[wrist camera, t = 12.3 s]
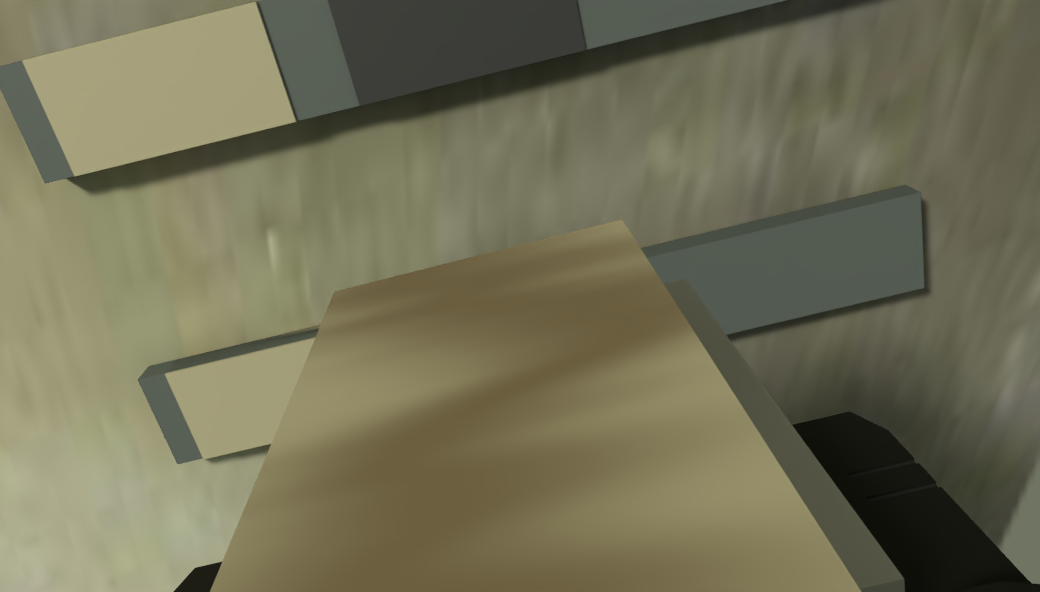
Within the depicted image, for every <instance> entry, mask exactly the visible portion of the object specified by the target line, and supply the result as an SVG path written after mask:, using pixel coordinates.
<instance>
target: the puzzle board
mask: <svg viewBox="0 0 1040 592" xmlns="http://www.w3.org/2000/svg"><path fill="white" fill-rule="evenodd" d="M782 1H786V0H261V1H257V2H253V3H249V4H245V5H241V6H237V7H233V8H229V9H225V10H221V11H217V12H213V13H209V14H205V15H201V16H197V17H193V18H189V19H185V20H181V21H177V22H173V23H169V24H165V25H161V26H158V27H154V28H150V29H146V30H142V31H138V32H134V33H130V34H126V35H122V36H118V37H114V38H110V39H106V40H102V41H98V42H94V43H90V44H86V45H82V46H78V47H74V48H70V49H66V50H62V51H58V52H54V53H50V54H46V55H42V56H38V57H34V58H30V59H26V60H22V61H19V62H15V63H11V64H7V65H3V66H0V89H1V91H2V93H3V95H4V97H5V100H6V102H7V104H8V106H9V108H10V110H11V112H12V114H13V116H14V119H15V121H16V123H17V125H18V127H19V129H20V131H21V133H22V136H23V138H24V140H25V142H26V144H27V146H28V148H29V150H30V153H31V155H32V157H33V159H34V161H35V163H36V165H37V167H38V169H39V172H40V174H41V176H42V178H43V180H44V182H45V183H49V182H53V181H57V180H61V179H65V178H69V177H73V176H79V175H83V174H87V173H91V172H95V171H99V170H103V169H107V168H111V167H115V166H119V165H124V164H128V163H132V162H136V161H140V160H144V159H148V158H152V157H156V156H160V155H164V154H168V153H172V152H176V151H180V150H184V149H188V148H192V147H196V146H200V145H205V144H209V143H213V142H217V141H221V140H225V139H229V138H233V137H237V136H241V135H245V134H249V133H253V132H257V131H261V130H265V129H269V128H273V127H277V126H281V125H285V124H290V123H294V122H296V121H300V120H304V119H308V118H312V117H316V116H320V115H324V114H328V113H332V112H336V111H340V110H345V109H349V108H353V107H357V106H362V105H366V104H371V103H375V102H379V101H383V100H387V99H391V98H395V97H399V96H403V95H407V94H411V93H415V92H419V91H423V90H427V89H431V88H435V87H439V86H443V85H447V84H451V83H456V82H460V81H464V80H468V79H472V78H476V77H480V76H484V75H488V74H492V73H496V72H500V71H504V70H508V69H512V68H516V67H520V66H524V65H528V64H532V63H536V62H541V61H545V60H549V59H553V58H557V57H561V56H565V55H569V54H573V53H577V52H581V51H585V50H587V49H591V48H596V47H600V46H604V45H608V44H612V43H616V42H620V41H624V40H628V39H632V38H636V37H640V36H644V35H648V34H652V33H656V32H660V31H664V30H668V29H672V28H676V27H681V26H685V25H689V24H693V23H697V22H701V21H705V20H709V19H713V18H717V17H721V16H725V15H729V14H733V13H737V12H741V11H745V10H749V9H753V8H757V7H761V6H766V5H770V4H774V3H778V2H782ZM641 250H642V251H643V253H644V255H645V256H646V258H647V259H648V261H649V262H650V264H651V265H652V267H653V269H654V270H655V272H656V273H657V275H658V276H659V278H660V279H661V281H662V283H663V284H667V283H671V282H675V281H679V280H683V279H686V280H687V282H688V283H689V285H690V286H691V287H692V289H693V290H694V291H695V293H696V294H697V296H698V297H699V298H700V300H701V301H702V302H703V304H704V305H705V307H706V308H707V309H708V311H709V312H710V313H711V315H712V316H713V317H714V319H715V320H716V322H717V323H718V324H719V326H720V327H721V328H722V330H723V331H724V333H725V334H726V335H727V334H731V333H736V332H740V331H744V330H748V329H753V328H757V327H761V326H765V325H770V324H774V323H778V322H782V321H787V320H791V319H795V318H799V317H803V316H808V315H812V314H816V313H820V312H825V311H829V310H833V309H837V308H842V307H846V306H850V305H854V304H859V303H863V302H867V301H871V300H876V299H880V298H884V297H888V296H892V295H897V294H901V293H905V292H909V291H914V290H918V289H922V288H924V264H923V237H922V211H921V192H919V191H917V190H915V189H913V188H910V187H908V186H906V185H904V186H899V187H895V188H891V189H887V190H883V191H879V192H874V193H870V194H866V195H862V196H858V197H854V198H849V199H845V200H841V201H837V202H833V203H829V204H824V205H820V206H816V207H812V208H808V209H803V210H799V211H795V212H791V213H787V214H783V215H778V216H774V217H770V218H766V219H762V220H758V221H753V222H749V223H745V224H741V225H737V226H733V227H728V228H724V229H720V230H716V231H712V232H708V233H703V234H699V235H695V236H691V237H687V238H682V239H678V240H674V241H670V242H666V243H662V244H657V245H653V246H649V247H645V248H641ZM320 326H321V325H320ZM320 326H315V327H311V328H307V329H303V330H299V331H294V332H290V333H286V334H282V335H278V336H274V337H269V338H265V339H261V340H257V341H253V342H249V343H244V344H240V345H236V346H232V347H228V348H224V349H219V350H215V351H211V352H207V353H203V354H199V355H194V356H190V357H186V358H182V359H178V360H173V361H169V362H165V363H161V364H157V365H153V366H149V367H148V368H147V369H146V370H145V371H144V373H143V374H142V375H141V376H140V378H139V379H138V381H139V384H140V386H141V388H142V390H143V392H144V394H145V396H146V398H147V401H148V403H149V405H150V407H151V409H152V411H153V413H154V415H155V417H156V420H157V422H158V424H159V426H160V428H161V430H162V432H163V434H164V437H165V439H166V441H167V443H168V445H169V447H170V449H171V451H172V454H173V456H174V458H175V460H176V462H177V464H181V463H185V462H189V461H193V460H198V459H202V458H203V459H208V458H212V457H217V456H221V455H225V454H229V453H234V452H238V451H242V450H246V449H251V448H255V447H259V446H263V445H268V444H272V441H273V439H274V436H275V434H276V432H277V429H278V427H279V424H280V422H281V420H282V417H283V415H284V412H285V410H286V408H287V405H288V403H289V400H290V398H291V395H292V393H293V391H294V388H295V386H296V383H297V381H298V379H299V376H300V374H301V371H302V369H303V367H304V364H305V362H306V359H307V357H308V355H309V352H310V350H311V347H312V345H313V343H314V340H315V338H316V335H317V333H318V330H319V328H320Z"/></svg>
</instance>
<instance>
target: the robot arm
mask: <svg viewBox="0 0 1040 592" xmlns="http://www.w3.org/2000/svg"><path fill="white" fill-rule="evenodd" d="M664 286H665V287H666V289H667V290H668V292H669V293H670V295H671V297H672V298H673V300H674V301H675V303H676V304H677V306H678V307H679V309H680V310H681V312H682V314H683V315H684V317H685V318H686V320H687V321H688V323H689V324H690V326H691V328H692V329H693V331H694V332H695V334H696V335H697V337H698V338H699V340H700V342H701V343H702V345H703V346H704V348H705V349H706V351H707V352H708V354H709V356H710V357H711V359H712V360H713V362H714V363H715V365H716V366H717V368H718V370H719V371H720V373H721V374H722V376H723V377H724V379H725V380H726V382H727V384H728V385H729V387H730V388H731V390H732V391H733V393H734V394H735V396H736V398H737V399H738V401H739V402H740V404H741V405H742V407H743V408H744V410H745V412H746V413H747V415H748V416H749V418H750V419H751V421H752V422H753V424H754V426H755V427H756V429H757V430H758V432H759V433H760V435H761V436H762V438H763V440H764V441H765V443H766V444H767V446H768V447H769V449H770V450H771V452H772V453H773V455H774V457H775V458H776V460H777V461H778V463H779V464H780V466H781V467H782V469H783V471H784V472H785V474H786V475H787V477H788V478H789V480H790V481H791V483H792V485H793V486H794V488H795V489H796V491H797V492H798V494H799V495H800V497H801V499H802V500H803V502H804V503H805V505H806V506H807V508H808V509H809V511H810V513H811V514H812V516H813V517H814V519H815V520H816V522H817V523H818V525H819V527H820V528H821V530H822V531H823V533H824V534H825V536H826V537H827V539H828V541H829V542H830V544H831V545H832V547H833V548H834V550H835V551H836V553H837V555H838V556H839V558H840V559H841V561H842V562H843V564H844V565H845V567H846V569H847V570H848V572H849V573H850V575H851V576H852V578H853V579H854V581H855V583H856V584H857V586H858V587H859V589H860V590H861V592H1040V584H1032V583H1031V582H1030V581H1028V580H1027V579H1026V577H1024V575H1023V574H1022V573H1021V572H1020V571H1019V570H1018V569H1017V568H1016V567H1015V566H1014V565H1013V564H1012V562H1011V561H1010V560H1009V559H1008V558H1007V557H1006V556H1005V555H1004V554H1003V553H1002V552H1001V551H1000V550H999V549H998V547H997V546H996V545H995V544H994V543H993V542H992V541H991V540H990V539H989V538H988V537H987V536H986V535H985V534H984V532H983V531H982V530H981V529H980V528H979V527H978V526H977V525H976V524H975V523H974V522H973V521H972V520H971V519H970V518H969V516H968V515H967V514H966V513H965V512H964V511H963V510H962V509H961V508H960V507H959V506H958V505H957V504H956V503H955V501H954V500H953V499H952V498H951V497H950V496H949V495H948V494H947V493H946V492H945V491H944V490H943V489H942V488H941V487H939V488H938V487H937V485H936V482H935V480H934V479H933V478H932V477H931V476H930V475H929V474H928V473H927V471H926V470H925V469H924V468H923V467H922V466H921V465H920V464H919V463H918V464H916V463H915V461H914V458H913V457H912V455H911V454H910V453H909V452H908V451H907V450H906V449H905V448H904V447H903V446H902V445H901V444H900V443H899V442H898V440H897V439H896V438H895V437H894V436H893V435H892V434H891V433H890V432H889V431H888V430H886V429H884V428H882V427H880V426H878V425H876V424H874V423H872V422H870V421H868V420H866V419H864V418H862V417H860V416H858V415H856V414H854V413H852V412H846V413H842V414H837V415H833V416H829V417H825V418H820V419H816V420H812V421H808V422H803V423H799V424H795V425H792V424H791V423H790V422H789V420H788V419H787V418H786V416H785V415H784V413H783V412H782V411H781V409H780V408H779V407H778V405H777V404H776V402H775V401H774V400H773V398H772V397H771V396H770V394H769V393H768V392H767V390H766V389H765V387H764V386H763V385H762V383H761V382H760V381H759V379H758V378H757V376H756V375H755V374H754V372H753V371H752V370H751V368H750V367H749V365H748V364H747V363H746V361H745V360H744V359H743V357H742V356H741V354H740V353H739V352H738V350H737V349H736V348H735V346H734V345H733V344H732V342H731V341H730V339H729V338H728V337H727V335H726V334H725V333H724V331H723V330H722V328H721V327H720V326H719V324H718V323H717V322H716V320H715V319H714V317H713V316H712V315H711V313H710V312H709V311H708V309H707V308H706V307H705V305H704V304H703V302H702V301H701V300H700V298H699V297H698V296H697V294H696V293H695V291H694V290H693V289H692V287H691V286H690V285H689V283H688V282H687V280H686V279H683V280H679V281H675V282H671V283H667V284H664ZM221 564H222V562H219V563H214V564H210V565H206V566H202V567H197V568H195V569H194V570H193V571H192V572H191V573H190V574H189V575H188V576H187V577H186V578H185V580H184V581H183V582H182V583H181V584H180V585H179V586H178V587H177V588H176V590H175V591H174V592H210V590H211V588H212V586H213V583H214V581H215V578H216V576H217V574H218V571H219V569H220V566H221Z"/></svg>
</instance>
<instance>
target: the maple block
mask: <svg viewBox="0 0 1040 592" xmlns="http://www.w3.org/2000/svg"><path fill="white" fill-rule="evenodd" d="M210 592H861V590H860V589H859V587H858V586H857V584H856V583H855V581H854V579H853V578H852V576H851V575H850V573H849V572H848V570H847V569H846V567H845V565H844V564H843V562H842V561H841V559H840V558H839V556H838V555H837V553H836V551H835V550H834V548H833V547H832V545H831V544H830V542H829V541H828V539H827V537H826V536H825V534H824V533H823V531H822V530H821V528H820V527H819V525H818V523H817V522H816V520H815V519H814V517H813V516H812V514H811V513H810V511H809V509H808V508H807V506H806V505H805V503H804V502H803V500H802V499H801V497H800V495H799V494H798V492H797V491H796V489H795V488H794V486H793V485H792V483H791V481H790V480H789V478H788V477H787V475H786V474H785V472H784V471H783V469H782V467H781V466H780V464H779V463H778V461H777V460H776V458H775V457H774V455H773V453H772V452H771V450H770V449H769V447H768V446H767V444H766V443H765V441H764V440H763V438H762V436H761V435H760V433H759V432H758V430H757V429H756V427H755V426H754V424H753V422H752V421H751V419H750V418H749V416H748V415H747V413H746V412H745V410H744V408H743V407H742V405H741V404H740V402H739V401H738V399H737V398H736V396H735V394H734V393H733V391H732V390H731V388H730V387H729V385H728V384H727V382H726V380H725V379H724V377H723V376H722V374H721V373H720V371H719V370H718V368H717V366H716V365H715V363H714V362H713V360H712V359H711V357H710V356H709V354H708V352H707V351H706V349H705V348H704V346H703V345H702V343H701V342H700V340H699V338H698V337H697V335H696V334H695V332H694V331H693V329H692V328H691V326H690V324H689V323H688V321H687V320H686V318H685V317H684V315H683V314H682V312H681V310H680V309H679V307H678V306H677V304H676V303H675V301H674V300H673V298H672V297H671V295H670V293H669V292H668V290H667V289H666V287H665V286H664V284H663V283H662V281H661V279H660V278H659V276H658V275H657V273H656V272H655V270H654V269H653V267H652V265H651V264H650V262H649V261H648V259H647V258H646V256H645V255H644V253H643V251H642V250H641V248H640V247H639V245H638V244H637V242H636V241H635V239H634V237H633V236H632V234H631V233H630V231H629V230H628V228H627V227H626V225H625V223H624V222H623V220H618V221H614V222H610V223H606V224H602V225H598V226H594V227H590V228H586V229H582V230H578V231H574V232H570V233H566V234H562V235H558V236H554V237H550V238H546V239H542V240H538V241H534V242H530V243H526V244H523V245H519V246H515V247H511V248H507V249H503V250H499V251H495V252H491V253H487V254H483V255H479V256H475V257H471V258H467V259H463V260H459V261H455V262H451V263H447V264H443V265H439V266H435V267H431V268H427V269H423V270H419V271H415V272H411V273H407V274H403V275H399V276H395V277H391V278H387V279H383V280H379V281H375V282H371V283H367V284H363V285H359V286H355V287H351V288H347V289H343V290H339V291H335V292H334V294H333V297H332V299H331V302H330V304H329V306H328V309H327V311H326V314H325V316H324V318H323V321H322V323H321V326H320V328H319V330H318V333H317V335H316V338H315V340H314V343H313V345H312V347H311V350H310V352H309V355H308V357H307V359H306V362H305V364H304V367H303V369H302V371H301V374H300V376H299V379H298V381H297V383H296V386H295V388H294V391H293V393H292V395H291V398H290V400H289V403H288V405H287V408H286V410H285V412H284V415H283V417H282V420H281V422H280V424H279V427H278V429H277V432H276V434H275V436H274V439H273V441H272V444H271V446H270V448H269V451H268V453H267V456H266V458H265V460H264V463H263V465H262V468H261V470H260V472H259V475H258V477H257V480H256V482H255V485H254V487H253V489H252V492H251V494H250V497H249V499H248V501H247V504H246V506H245V509H244V511H243V513H242V516H241V518H240V521H239V523H238V525H237V528H236V530H235V533H234V535H233V537H232V540H231V542H230V545H229V547H228V550H227V552H226V554H225V557H224V559H223V562H222V564H221V566H220V569H219V571H218V574H217V576H216V578H215V581H214V583H213V586H212V588H211V590H210Z"/></svg>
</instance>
